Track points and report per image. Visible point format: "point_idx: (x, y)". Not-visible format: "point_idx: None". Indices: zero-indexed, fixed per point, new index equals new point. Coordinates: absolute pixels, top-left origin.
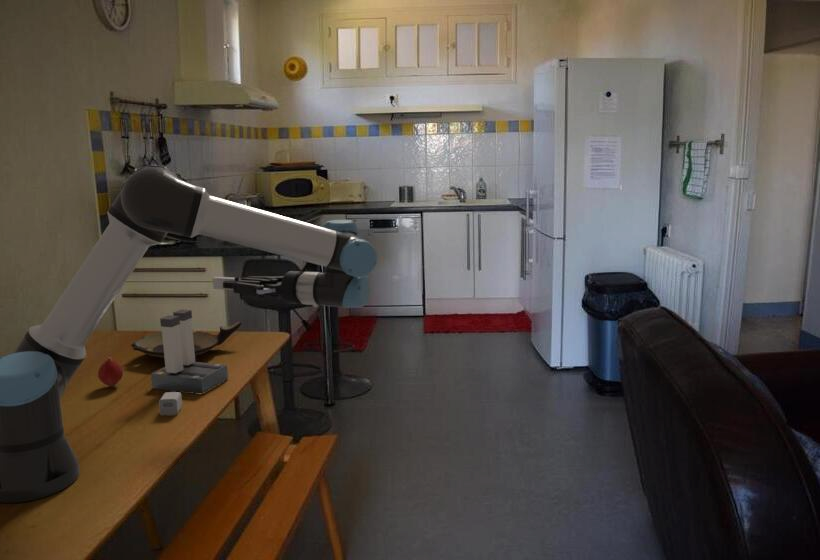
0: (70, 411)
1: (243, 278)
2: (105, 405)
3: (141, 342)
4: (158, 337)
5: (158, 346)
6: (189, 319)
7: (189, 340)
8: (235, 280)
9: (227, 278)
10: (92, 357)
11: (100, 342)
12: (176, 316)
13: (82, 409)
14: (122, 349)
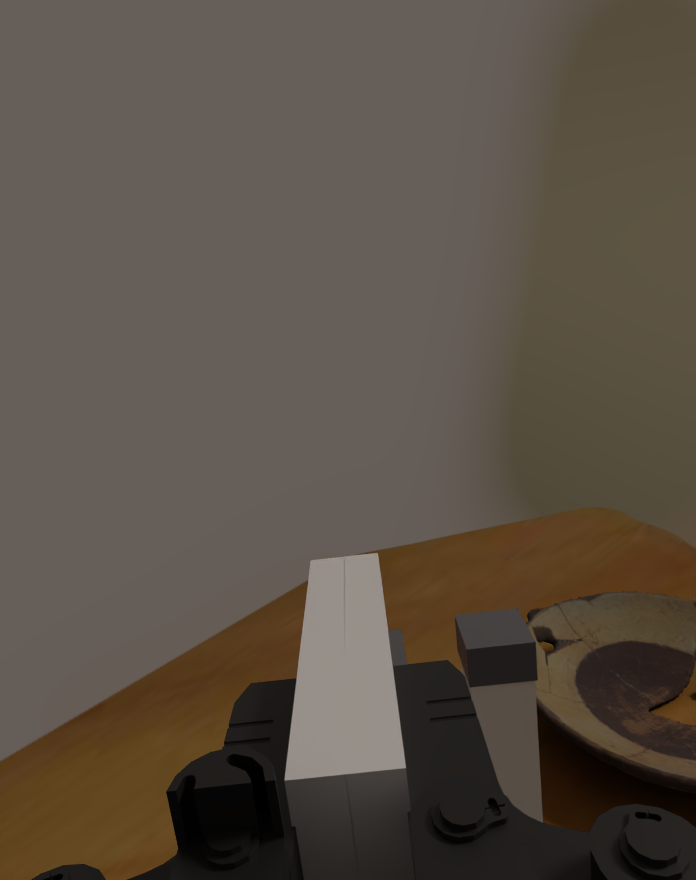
0: (125, 794)
1: (436, 834)
2: (176, 845)
3: (572, 613)
4: (651, 611)
5: (626, 645)
6: (516, 685)
7: (508, 784)
8: (187, 827)
9: (308, 661)
10: (490, 591)
11: (574, 547)
12: (397, 660)
13: (140, 810)
14: (577, 595)
